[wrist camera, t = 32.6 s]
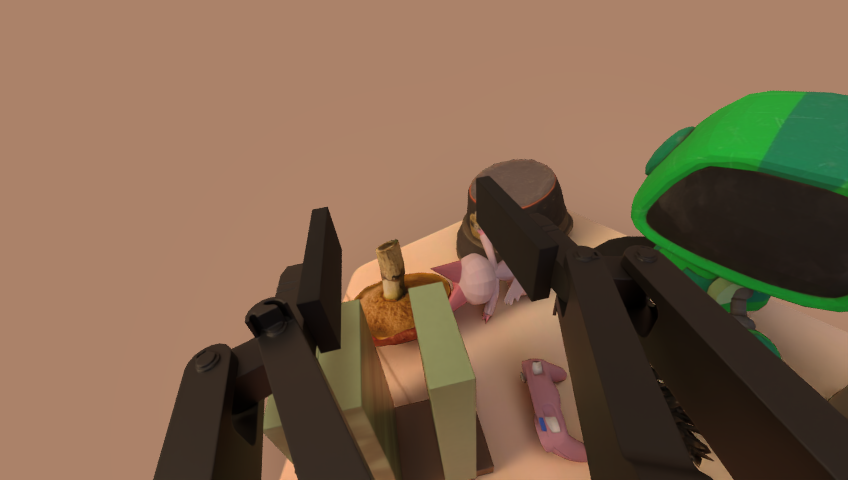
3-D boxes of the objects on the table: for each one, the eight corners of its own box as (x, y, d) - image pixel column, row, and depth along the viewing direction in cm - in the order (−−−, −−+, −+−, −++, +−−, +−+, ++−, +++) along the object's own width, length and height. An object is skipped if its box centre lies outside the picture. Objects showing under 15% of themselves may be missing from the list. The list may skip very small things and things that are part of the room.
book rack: (335, 521, 29) (243, 434, 18) (339, 423, 36) (275, 316, 25) (495, 477, 31) (505, 370, 19) (468, 391, 38) (464, 276, 26)
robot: (579, 257, 53) (634, 78, 31) (724, 257, 48) (911, 44, 26) (622, 437, 36) (811, 322, 14) (854, 464, 31) (1690, 351, 9)
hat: (436, 258, 60) (430, 192, 50) (505, 194, 75) (510, 134, 65) (526, 302, 50) (539, 230, 40) (584, 218, 65) (604, 151, 55)
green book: (446, 486, 29) (429, 389, 19) (428, 394, 37) (408, 288, 26) (476, 477, 30) (476, 378, 19) (452, 389, 37) (442, 281, 26)
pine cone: (721, 477, 29) (751, 456, 26) (668, 484, 29) (691, 463, 26) (615, 326, 43) (626, 301, 40) (579, 331, 43) (587, 305, 40)
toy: (512, 218, 52) (406, 238, 43) (543, 215, 46) (429, 237, 37) (524, 301, 53) (423, 339, 44) (556, 309, 47) (448, 353, 38)
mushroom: (381, 266, 32) (351, 378, 36) (491, 272, 40) (455, 363, 44) (346, 215, 44) (327, 302, 49) (434, 227, 52) (411, 301, 57)
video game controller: (531, 380, 40) (510, 352, 36) (567, 371, 38) (547, 341, 35) (554, 472, 32) (529, 447, 28) (600, 465, 30) (579, 438, 27)
